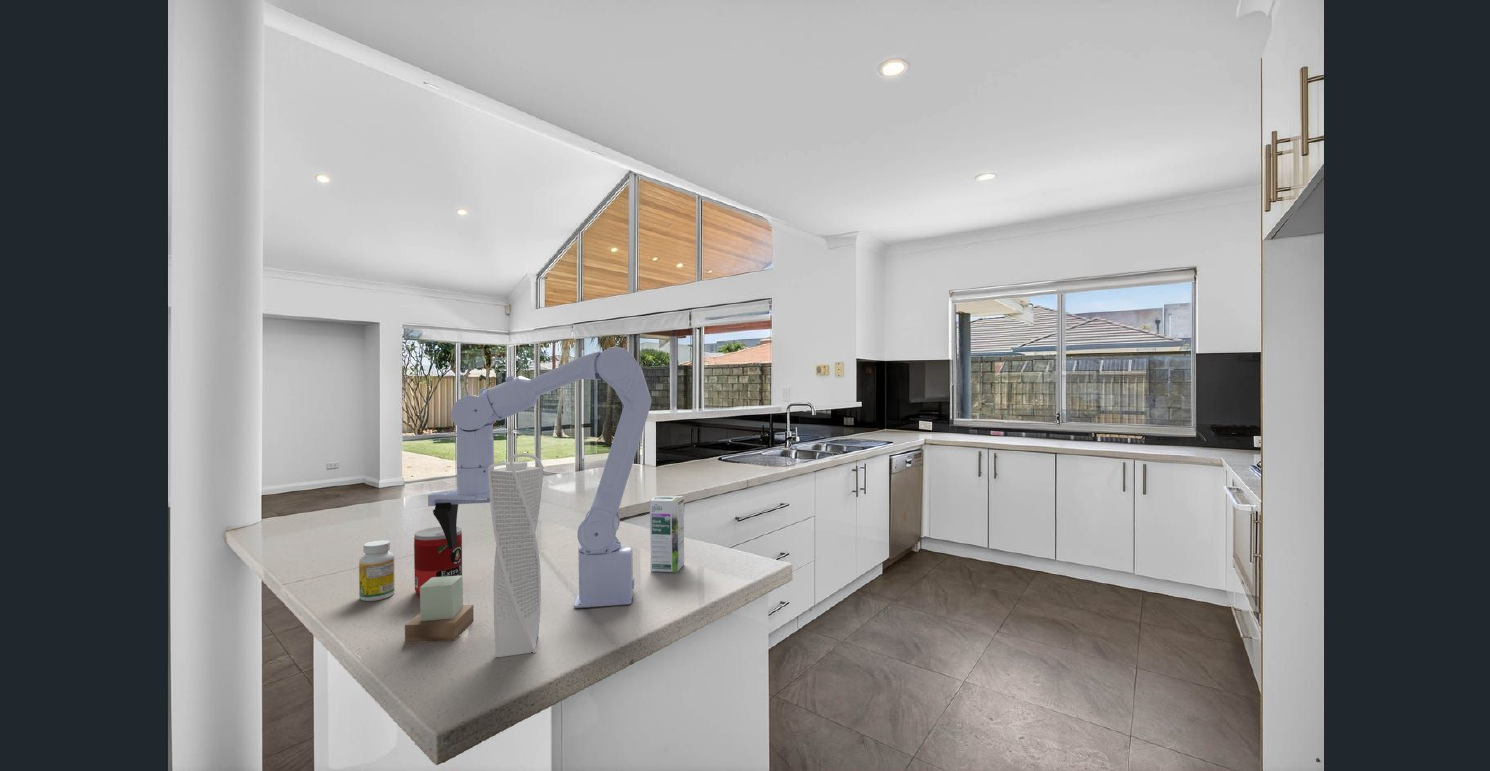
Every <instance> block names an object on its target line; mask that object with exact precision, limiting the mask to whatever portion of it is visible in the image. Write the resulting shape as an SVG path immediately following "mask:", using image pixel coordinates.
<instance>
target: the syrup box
mask: <svg viewBox="0 0 1490 771" xmlns="http://www.w3.org/2000/svg"><path fill="white" fill-rule="evenodd" d="M684 502H685V501H684V495H683V496H682V495H681V496H680V495H679V496H677V495H676V496H674V495H673V496H671V495H668V496H667V495H665V496H664V495H656V496H654V497H653V498H651V499H650V501H649V524H650V525H649V528H650V535H649V536H650V540H649V541H650V564H649V565H650V572H651V573H654V572H657V573H658V572H659V573H660V572H661V573H678V572H679V571H680V570H681V569H682V567H683V566H684V564H685V526H684V525H685V524H684V523H685V520H684V518H685V517H684V516H685V511H684V510H685V509H684V508H685V507H684V506H685V505H684Z"/></svg>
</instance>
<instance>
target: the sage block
mask: <svg viewBox="0 0 1490 771" xmlns="http://www.w3.org/2000/svg"><path fill="white" fill-rule="evenodd" d="M463 590H464V588H463V574H462V575H460V576H446V577H432V578H431V579H429V580H428V581H427V582H426V583H425V584H423V585H422V586H421V587H420V596H419V609H420V611H419V613H420V618H421V621H426V620H439V619H452V618H454V616H455V615H456V614H457V613H458V612H459V611H460V610H461V609H462V608H463V605H464V593H463Z"/></svg>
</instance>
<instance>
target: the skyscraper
mask: <svg viewBox="0 0 1490 771" xmlns="http://www.w3.org/2000/svg"><path fill="white" fill-rule="evenodd" d="M522 457H523V458H530V459H532V460H534V461H535V462H536V463H537V464H538V465H539V467H538V466H528V461H524V460H523V461H513V459H515V458H516V459H517V458H522ZM501 466H505V467H501ZM493 467H494V469H493V470H491V468H493ZM495 467H501V468H495ZM543 478H544V465H543V464H542V462H541V460H540V459H539V458H538V457H537V456H535V455H533V454H532V453H526V452H522V453H521V452H519V453H515V454H511V455H510V456H509V457H508V461H501V462H494V464H491V465H490V466H489V467H488V479H489V493H490V503H489V504H490V511H491V520H492V522H491V523H492V528H493V534H494V541H495V544H496V545H495V555H494V567H493V568H494V569H493V628H494V629H493V630H494V652H495V653H494V654H495V658H503V657H509V656H517V655H524V654H535V653H537V650H536V646H537V641H538V640H537V639H538V638H539V636H540V634H539V633H540V619H541V601H542V598H541V596H542V579H541V578H542V575H541V574H542V572H541V561H540V559H541V558H540V550H539V544H538V539H537V538H538V537H537V534H536V532H537V528H538V521H539V516H540V507H541V499H542V491H543V490H542V489H543ZM531 652H533V653H531Z"/></svg>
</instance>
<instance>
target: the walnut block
mask: <svg viewBox="0 0 1490 771" xmlns="http://www.w3.org/2000/svg"><path fill="white" fill-rule="evenodd" d="M474 621H475V620H474V604H463V608H462V609H461V610H460V611H459V612H458V613H457V614H456V615H455V616H454V618H452V619H439V620H426V621H421V618H420V612H419V613H418V614H417V615H416V616H414V617H413V618H412V619H410V620H409V621H408V622H407V623H406V624H404V644H409V643H410V644H412V643H431V642H435V643H436V642H453V641H454V640H455V639H456V638H459V637H460V636H461V635H462V632H463V631H465V630H467V629H468V628H469V627H470V625H472V623H474ZM463 633H464V632H463ZM460 634H461V635H460ZM459 635H460V636H459ZM456 640H457V639H456ZM456 640H455V641H456Z"/></svg>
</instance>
